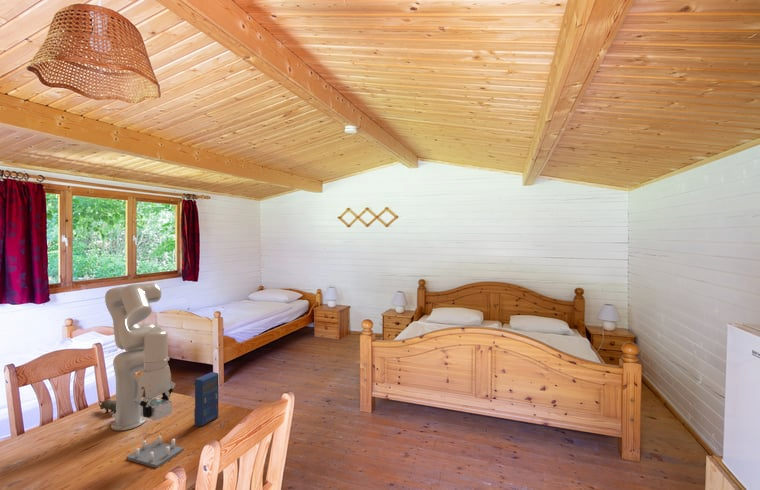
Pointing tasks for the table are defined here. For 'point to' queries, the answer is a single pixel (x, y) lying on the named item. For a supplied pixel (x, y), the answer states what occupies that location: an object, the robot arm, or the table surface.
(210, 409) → the electronic device
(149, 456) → the grey pegged base plate
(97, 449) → the table surface
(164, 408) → the drive
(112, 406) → the rhino figurine
